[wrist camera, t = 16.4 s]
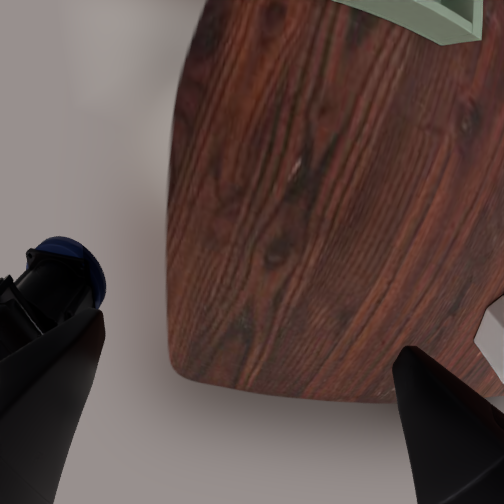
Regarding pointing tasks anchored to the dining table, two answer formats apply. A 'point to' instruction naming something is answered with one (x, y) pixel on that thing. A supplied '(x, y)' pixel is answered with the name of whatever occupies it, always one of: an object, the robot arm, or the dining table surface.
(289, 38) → the dining table surface
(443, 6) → the bin
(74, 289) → the robot arm
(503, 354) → the jar
